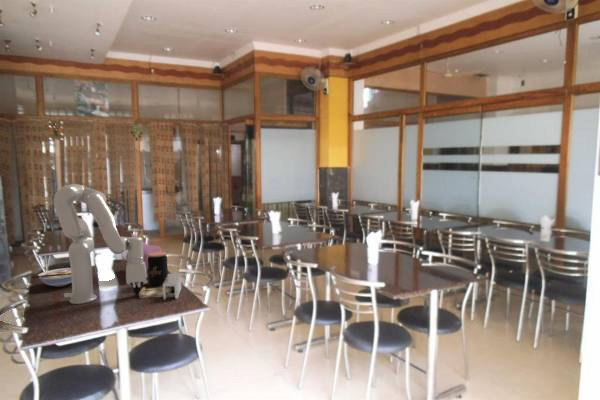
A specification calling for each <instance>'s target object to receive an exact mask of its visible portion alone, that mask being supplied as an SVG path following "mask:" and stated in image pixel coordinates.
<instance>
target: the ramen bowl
mask: <svg viewBox="0 0 600 400" xmlns="http://www.w3.org/2000/svg"><path fill="white" fill-rule="evenodd" d="M31 278H32V279H39V280H40V281H41V282H42V283H43V284H45V285H47V286H51V287H52V286H53V287H56V288H59V287H60V288H61V287H66V286H68V285H69V284H70V285H71V284H72V277H71V267H65V268H64V267H63V268H56V269H50V270H47V271H43V272H41V273H39V274H37V275H33V276H31Z"/></svg>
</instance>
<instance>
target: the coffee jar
mask: <svg viewBox="0 0 600 400" xmlns="http://www.w3.org/2000/svg"><path fill="white" fill-rule="evenodd" d="M167 255H168V254H167V252H166V251H162V252H152V253H149V254H148V275H149V277H148V284H149V286H152V287H163V283H164V281H165V279H166V277H167V275H168V274H169V272H168V271H169V270H168V256H167Z"/></svg>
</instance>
